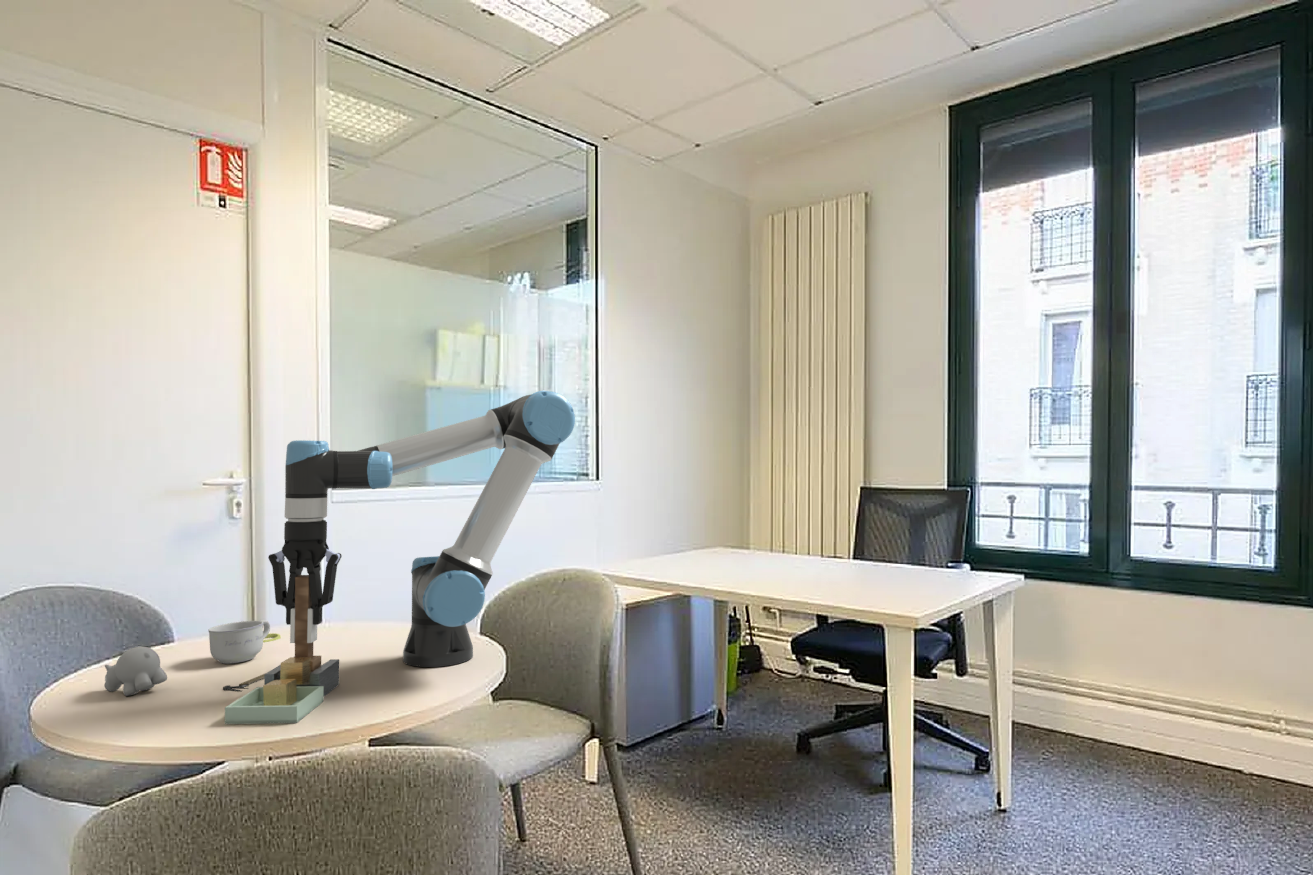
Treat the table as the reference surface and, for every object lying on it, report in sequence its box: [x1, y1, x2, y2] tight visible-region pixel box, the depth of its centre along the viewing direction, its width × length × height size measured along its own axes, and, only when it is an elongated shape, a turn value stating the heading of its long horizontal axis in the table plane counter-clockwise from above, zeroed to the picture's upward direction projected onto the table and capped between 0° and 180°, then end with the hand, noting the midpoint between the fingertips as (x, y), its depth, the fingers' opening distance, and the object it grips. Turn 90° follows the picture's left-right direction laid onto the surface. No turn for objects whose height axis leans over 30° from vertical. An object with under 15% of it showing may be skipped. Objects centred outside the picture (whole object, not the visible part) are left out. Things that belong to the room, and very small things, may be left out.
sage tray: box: [224, 686, 324, 725], centre depth 135 cm, size 12×12×3 cm
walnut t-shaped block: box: [293, 574, 322, 672], centre depth 147 cm, size 5×4×18 cm
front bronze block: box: [262, 679, 297, 706], centre depth 137 cm, size 4×4×4 cm
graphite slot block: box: [263, 658, 340, 698], centre depth 146 cm, size 10×10×5 cm
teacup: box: [207, 619, 271, 665], centre depth 171 cm, size 14×11×8 cm
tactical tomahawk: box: [222, 672, 267, 693], centre depth 157 cm, size 21×7×1 cm, turn 166°
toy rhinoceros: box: [103, 646, 168, 697], centre depth 147 cm, size 7×12×8 cm, turn 74°
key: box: [263, 632, 281, 643], centre depth 190 cm, size 7×12×2 cm, turn 73°
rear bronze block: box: [280, 656, 311, 684], centre depth 143 cm, size 4×4×4 cm
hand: (303, 641), depth 147 cm, fingers closed on walnut t-shaped block, 2 cm apart
